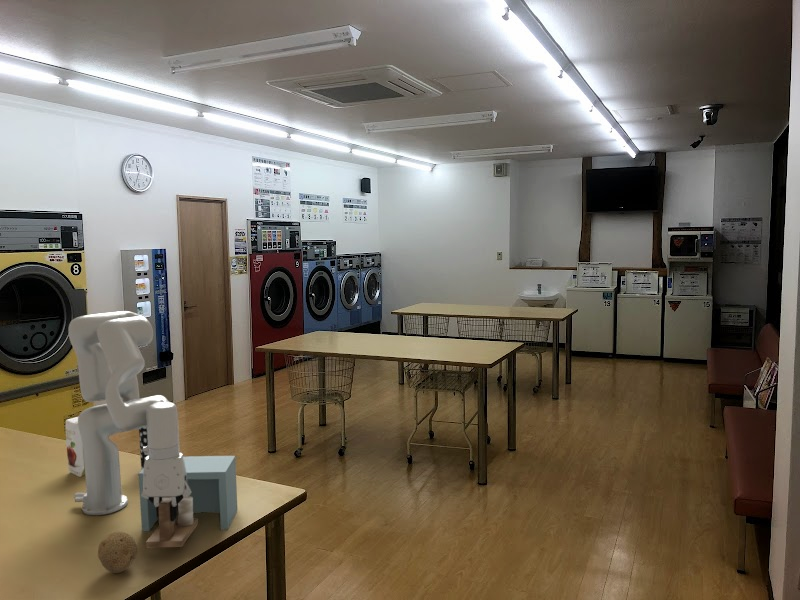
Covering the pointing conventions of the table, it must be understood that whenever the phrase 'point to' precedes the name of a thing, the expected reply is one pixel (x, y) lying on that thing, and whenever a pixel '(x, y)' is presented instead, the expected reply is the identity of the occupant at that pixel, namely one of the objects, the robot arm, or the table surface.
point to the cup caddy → (173, 524)
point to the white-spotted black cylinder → (143, 444)
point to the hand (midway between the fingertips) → (167, 518)
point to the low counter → (202, 489)
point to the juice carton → (74, 447)
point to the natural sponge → (117, 551)
